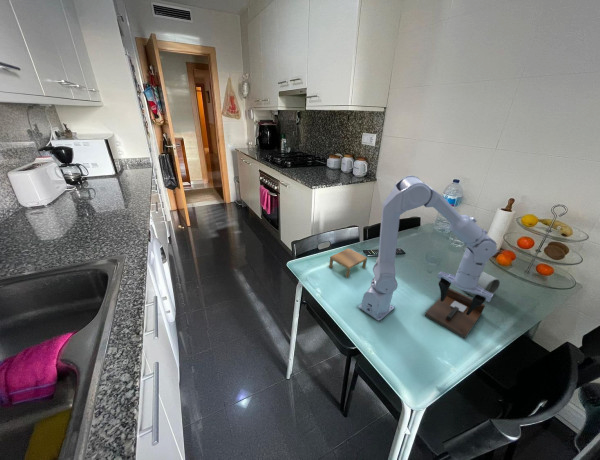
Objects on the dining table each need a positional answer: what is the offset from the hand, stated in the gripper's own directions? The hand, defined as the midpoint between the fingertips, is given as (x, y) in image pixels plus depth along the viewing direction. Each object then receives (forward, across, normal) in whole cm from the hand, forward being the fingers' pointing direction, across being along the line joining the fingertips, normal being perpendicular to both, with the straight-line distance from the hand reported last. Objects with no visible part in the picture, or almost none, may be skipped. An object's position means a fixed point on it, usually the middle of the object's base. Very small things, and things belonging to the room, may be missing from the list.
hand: (455, 306), depth 79 cm
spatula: (+3, 0, -2) cm, 4 cm away
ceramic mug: (+5, -1, -23) cm, 24 cm away
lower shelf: (+5, 0, -2) cm, 5 cm away
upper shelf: (+5, +40, +4) cm, 40 cm away
